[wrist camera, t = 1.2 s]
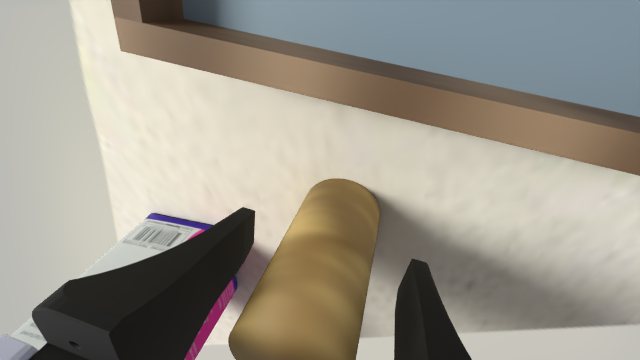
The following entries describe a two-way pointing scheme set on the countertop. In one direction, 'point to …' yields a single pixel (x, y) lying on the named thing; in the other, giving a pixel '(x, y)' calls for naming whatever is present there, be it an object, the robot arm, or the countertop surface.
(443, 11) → the bore plate
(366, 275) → the peg
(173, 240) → the supplement box
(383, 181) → the countertop surface
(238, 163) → the countertop surface
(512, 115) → the tray
